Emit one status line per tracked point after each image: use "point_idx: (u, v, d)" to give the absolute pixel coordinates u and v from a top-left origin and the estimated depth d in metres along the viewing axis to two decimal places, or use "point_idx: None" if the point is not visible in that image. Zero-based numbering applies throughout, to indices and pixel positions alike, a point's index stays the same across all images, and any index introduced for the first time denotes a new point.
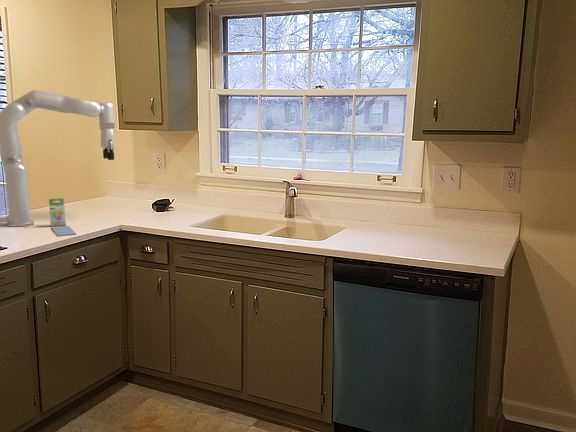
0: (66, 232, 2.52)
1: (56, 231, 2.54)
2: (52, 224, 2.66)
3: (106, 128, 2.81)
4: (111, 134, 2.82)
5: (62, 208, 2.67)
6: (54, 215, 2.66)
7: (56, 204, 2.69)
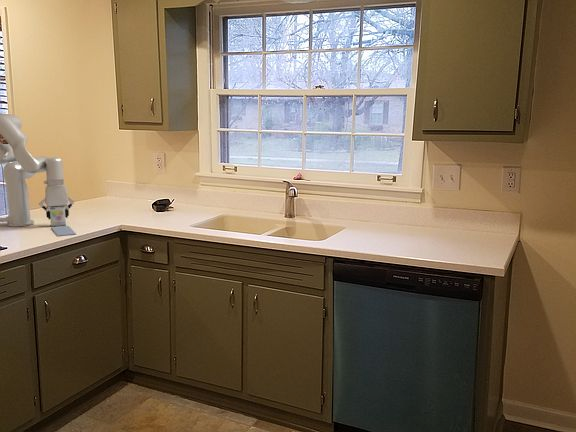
0: (66, 232, 2.52)
1: (56, 231, 2.54)
2: (52, 224, 2.66)
3: (63, 184, 2.66)
4: None
5: (62, 208, 2.67)
6: (54, 215, 2.66)
7: None
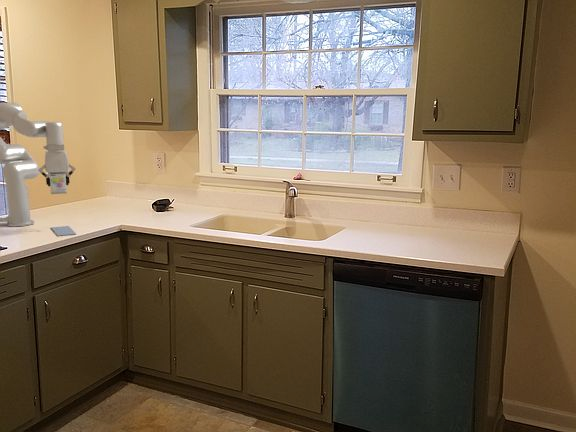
0: (66, 232, 2.52)
1: (56, 231, 2.54)
2: (52, 191, 2.55)
3: None
4: None
5: (62, 175, 2.56)
6: (54, 182, 2.55)
7: None
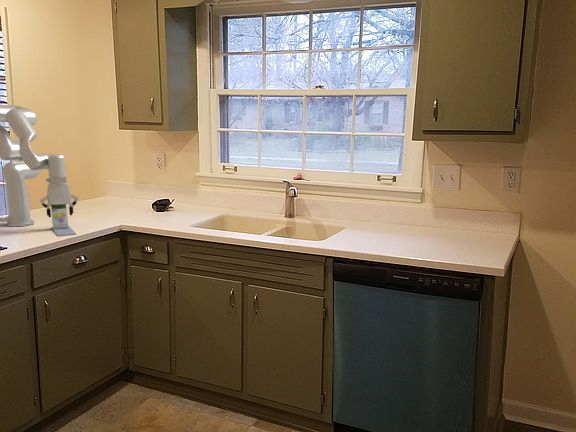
0: (66, 232, 2.52)
1: (56, 231, 2.54)
2: (54, 227, 2.59)
3: (66, 182, 2.58)
4: None
5: (64, 210, 2.59)
6: (56, 218, 2.58)
7: (58, 206, 2.61)
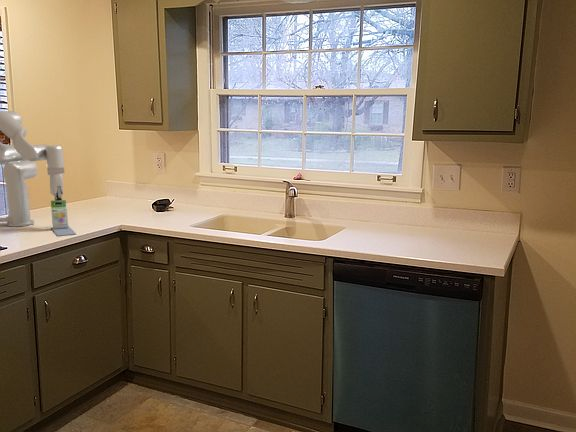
0: (66, 232, 2.52)
1: (56, 231, 2.54)
2: (54, 227, 2.59)
3: (54, 173, 2.57)
4: (60, 180, 2.58)
5: (64, 210, 2.59)
6: (56, 218, 2.58)
7: (58, 206, 2.61)
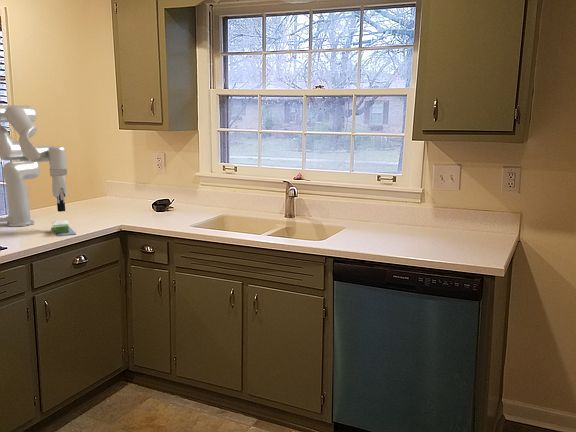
0: (66, 232, 2.52)
1: None
2: None
3: (57, 175, 2.50)
4: (63, 182, 2.51)
5: None
6: None
7: (60, 225, 2.50)
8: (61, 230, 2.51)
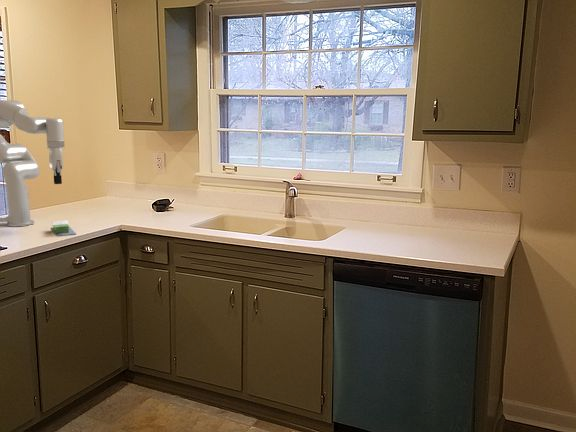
0: (66, 232, 2.52)
1: None
2: None
3: (54, 147, 2.49)
4: (59, 154, 2.50)
5: None
6: None
7: (60, 225, 2.50)
8: (61, 230, 2.51)
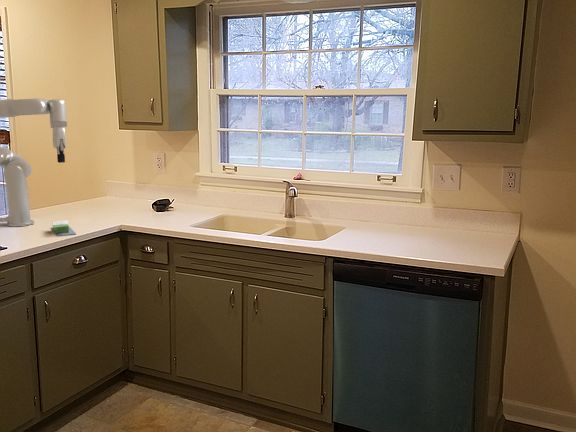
0: (66, 232, 2.52)
1: None
2: None
3: (57, 126, 2.62)
4: (62, 133, 2.62)
5: None
6: None
7: (60, 225, 2.50)
8: (61, 230, 2.51)
